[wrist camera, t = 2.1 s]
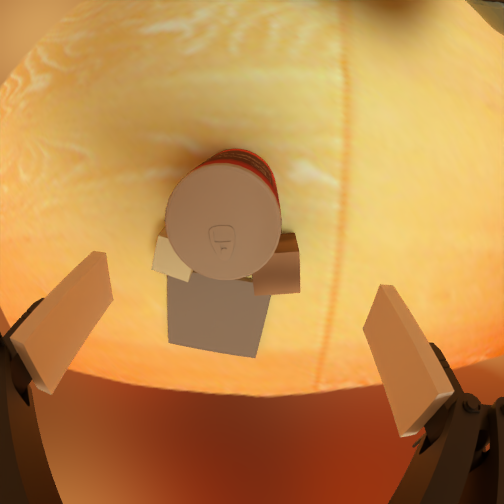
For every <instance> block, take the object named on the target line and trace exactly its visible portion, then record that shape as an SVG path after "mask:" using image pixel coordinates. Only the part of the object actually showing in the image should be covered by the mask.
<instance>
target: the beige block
mask: <svg viewBox="0 0 504 504" xmlns="http://www.w3.org/2000/svg"><path fill="white" fill-rule="evenodd" d="M152 270H154V271H157V272H160V273H163V274H166V275H168V276H171V277H174V278H177V279H180V280H183V281H186V282H188V281H189V279H190V277H191V274H192V272H193V270H192V269H191V268H189V267H188V266H187V265H186V264H185V263H184V262H182V261H181V259H180V258H179V257H178V256H177V254H176V253H175V252H174V250H173V248H172V246H171V244H170V242H169V239H168V236H167V233H166V227H165V228H164V229H163V230H162V231H161V233H160V234H159V235H158V239H157V244H156V249H155V254H154V259H153V265H152Z"/></svg>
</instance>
